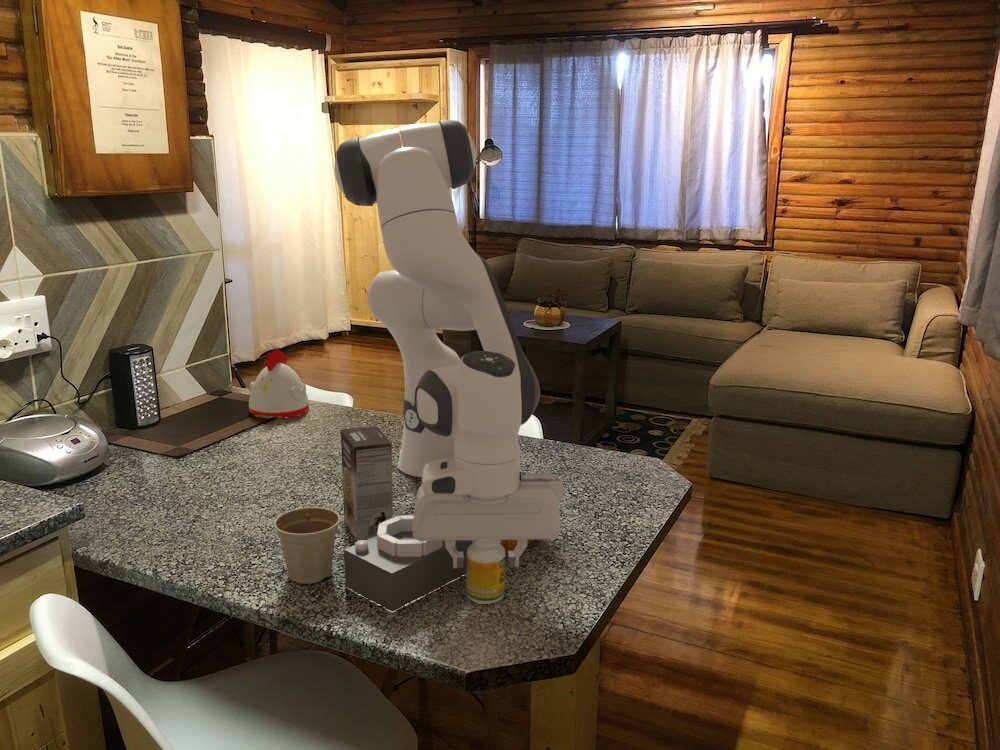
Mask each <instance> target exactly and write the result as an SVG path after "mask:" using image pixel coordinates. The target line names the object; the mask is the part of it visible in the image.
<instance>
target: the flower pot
mask: <svg viewBox="0 0 1000 750" xmlns="http://www.w3.org/2000/svg"><path fill="white" fill-rule="evenodd" d="M341 520H342V519H341V515H340V514H339V513H338V512H337V511H335V510H333V509H331V508H327V507H321V506H320V507H319V506H306V507H300V508H296V509H295V508H294V509H292V510H288V511H285V512H283V513H282V514H279V516H277V517H276V518H275V519H274V521H273V528H274V529H275V530H276V531H277V536H278V538H279V539H280V543H281V547H282V551H283V557H284V561H285V566H286V570H287V576H288V579H289V580H291V581H295V582H296V583H298V584H303V585H309V584H315V583H320V582H321V581H323V579H325V578H329V577H330V576H331V575H332V571H333V560H334V550H335V540H336V533H337V532H338V527H339V525H340V524H341Z"/></svg>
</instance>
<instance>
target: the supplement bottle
mask: <svg viewBox="0 0 1000 750" xmlns="http://www.w3.org/2000/svg"><path fill="white" fill-rule="evenodd" d="M500 543H501V540H496V539H479V540H472V544H471V545H470V546H469V548H468V550H467V575H466V595H467V598H468V599H469V600H470V599H471V600H472V601H471V600H470V601H471V602H473V601H474V602H473V603H475V602H477V603H482V604H488V605H491V604H490V603H494V602H497V601H499V600H500V601H502V599H504V596H505V587H506V584H505V583H506V580H505V579H506V575H505V574H506V555H505V549H504V548H503V546H502V545H501V544H500ZM500 601H499V602H500ZM477 603H476V604H477ZM497 603H498V602H497ZM482 604H481V605H482ZM494 604H495V603H494Z"/></svg>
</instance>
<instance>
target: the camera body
mask: <svg viewBox="0 0 1000 750" xmlns="http://www.w3.org/2000/svg"><path fill="white" fill-rule="evenodd" d="M413 517H414V514H413V515H412V514H409V515H408V514H407V515H406V514H405V515H402V514H401V515H399V516H398V515H397V516H394V517H392V518H391V519H389V520H387V521H384V522H382V523H380V524H379V527H378V532H377V536H375V537H372V538H370V539H365V540H358V541H355V542H354V545H352V546H349V547H347V548H344V549H343V552H344V553H343V554H344V555H343V556H344V583H345V585H344V586H345V587H347V588H350V589H352V590H353V591H355V592H357V593H358V594H361V595H362V596H364V597H366V598H368V599H370V600H372V601H374V602H376V603H377V604H380V605H381V606H383V607H385V608H387V609H389V610H391V611H394V610H396V609H398V608H400V607H401V606H404V605H405V604H407V603H410V602H411V601H413V600H415V599H417V598H419V597H421V596H424V595H425V594H428V593H429V592H431V591H433V590H435V589H437V588H438V587H441V586H443V585H445V584H446V583H448V582H450V581H452V580H454V579H457V578H458V577H461V576H462V575H465V574H467V550H468V548H469V546H470V545H471V544H472V540H457V541H456V544H455V548H456V549H457V551H458V552H464V568H453V558H452V556H451V555H450V553H449V552H448V550H447V549H446V547H445V541H418V540H417V539H416V538H415V537H414V535H413ZM465 576H466V575H465Z"/></svg>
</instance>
